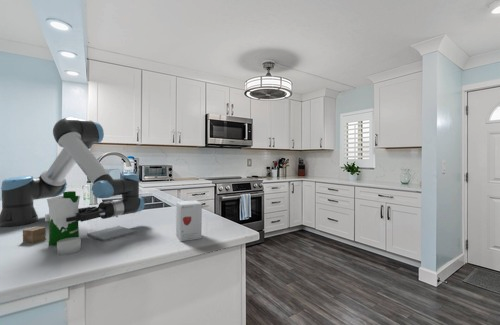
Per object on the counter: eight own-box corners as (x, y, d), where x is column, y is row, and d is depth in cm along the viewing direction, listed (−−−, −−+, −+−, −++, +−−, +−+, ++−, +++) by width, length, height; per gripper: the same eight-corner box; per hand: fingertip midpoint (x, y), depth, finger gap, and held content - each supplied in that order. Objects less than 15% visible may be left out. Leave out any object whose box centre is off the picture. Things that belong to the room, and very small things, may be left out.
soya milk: (69, 245, 94) (68, 193, 94) (44, 246, 94) (43, 193, 93) (82, 238, 103) (82, 190, 103) (60, 238, 102) (59, 190, 102)
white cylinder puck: (53, 252, 88) (53, 241, 88) (75, 246, 94) (75, 236, 94) (62, 256, 84) (61, 245, 84) (84, 250, 90) (84, 239, 90)
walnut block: (22, 242, 98) (22, 229, 98) (36, 238, 103) (36, 226, 103) (32, 243, 97) (32, 230, 97) (45, 239, 102) (45, 227, 101)
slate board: (87, 235, 107) (87, 233, 107) (119, 227, 119) (119, 225, 119) (103, 241, 99) (103, 239, 99) (136, 232, 111) (136, 230, 111)
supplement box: (180, 242, 99) (180, 205, 99) (175, 235, 107) (175, 201, 107) (202, 238, 104) (202, 203, 103) (196, 232, 112) (196, 199, 111)
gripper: (123, 220, 107) (62, 234, 88) (98, 214, 119) (39, 225, 100) (123, 203, 107) (62, 213, 88) (98, 198, 119) (39, 206, 100)
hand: (50, 219), depth 94 cm, fingers closed on soya milk, 8 cm apart
